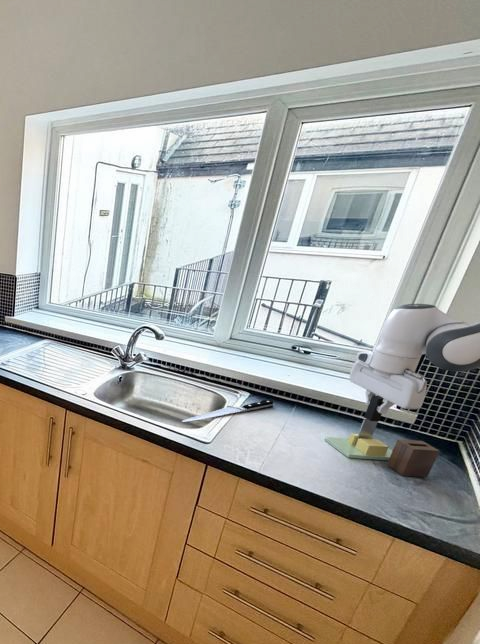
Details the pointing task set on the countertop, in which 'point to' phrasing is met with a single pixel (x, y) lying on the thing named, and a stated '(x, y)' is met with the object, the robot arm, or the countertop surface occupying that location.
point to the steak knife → (233, 410)
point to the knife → (370, 418)
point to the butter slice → (353, 439)
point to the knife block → (412, 458)
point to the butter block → (371, 447)
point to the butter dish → (353, 449)
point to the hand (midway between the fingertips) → (375, 409)
